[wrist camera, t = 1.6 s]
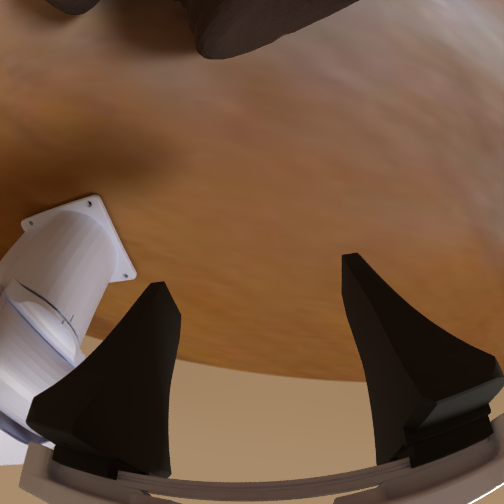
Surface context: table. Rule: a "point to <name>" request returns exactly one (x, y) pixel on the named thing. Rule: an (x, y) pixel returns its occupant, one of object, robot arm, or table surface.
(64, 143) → the table surface
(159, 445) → the robot arm
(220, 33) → the pipe
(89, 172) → the table surface
